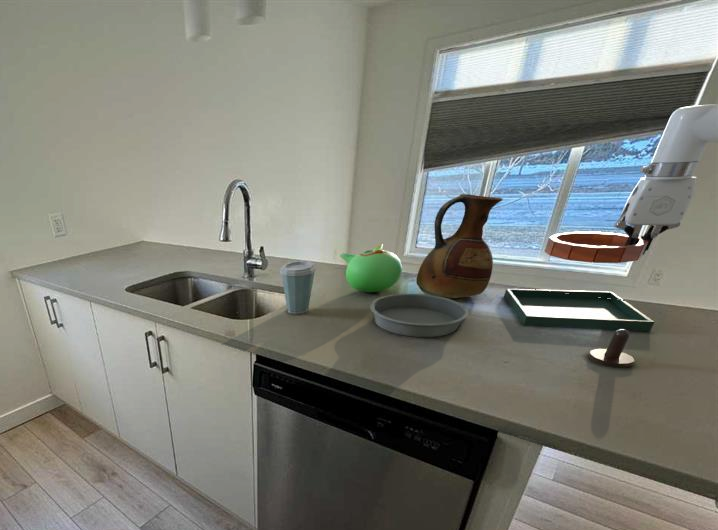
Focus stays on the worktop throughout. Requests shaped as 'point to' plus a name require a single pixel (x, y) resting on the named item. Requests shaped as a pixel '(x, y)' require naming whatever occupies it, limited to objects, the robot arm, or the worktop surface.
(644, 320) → the tray
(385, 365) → the worktop surface
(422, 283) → the ceramic pitcher
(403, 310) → the cake pan
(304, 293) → the disposable coffee cup
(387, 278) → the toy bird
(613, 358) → the post
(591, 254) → the ring
